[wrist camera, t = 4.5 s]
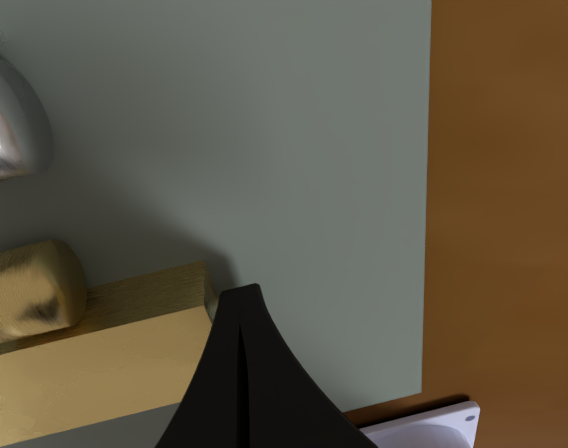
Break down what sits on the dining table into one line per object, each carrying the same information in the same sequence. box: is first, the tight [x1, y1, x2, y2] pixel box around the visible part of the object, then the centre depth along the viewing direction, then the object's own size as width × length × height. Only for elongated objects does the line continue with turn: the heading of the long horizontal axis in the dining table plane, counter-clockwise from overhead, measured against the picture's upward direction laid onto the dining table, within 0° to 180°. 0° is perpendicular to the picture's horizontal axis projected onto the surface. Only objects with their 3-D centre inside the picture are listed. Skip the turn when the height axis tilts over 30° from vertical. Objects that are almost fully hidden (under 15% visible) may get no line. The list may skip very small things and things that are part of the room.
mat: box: [0, 0, 431, 448], centre depth 13 cm, size 22×22×1 cm
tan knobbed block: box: [0, 239, 219, 447], centre depth 12 cm, size 9×6×2 cm
